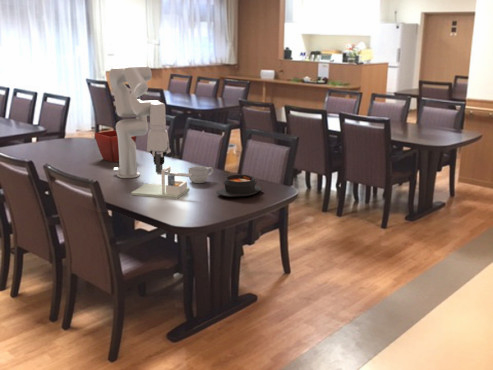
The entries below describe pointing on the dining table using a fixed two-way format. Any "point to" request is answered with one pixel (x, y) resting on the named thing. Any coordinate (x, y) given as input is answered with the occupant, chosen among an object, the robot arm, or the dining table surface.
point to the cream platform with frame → (162, 188)
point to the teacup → (199, 174)
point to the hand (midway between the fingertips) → (159, 163)
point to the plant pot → (109, 145)
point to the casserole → (239, 186)
